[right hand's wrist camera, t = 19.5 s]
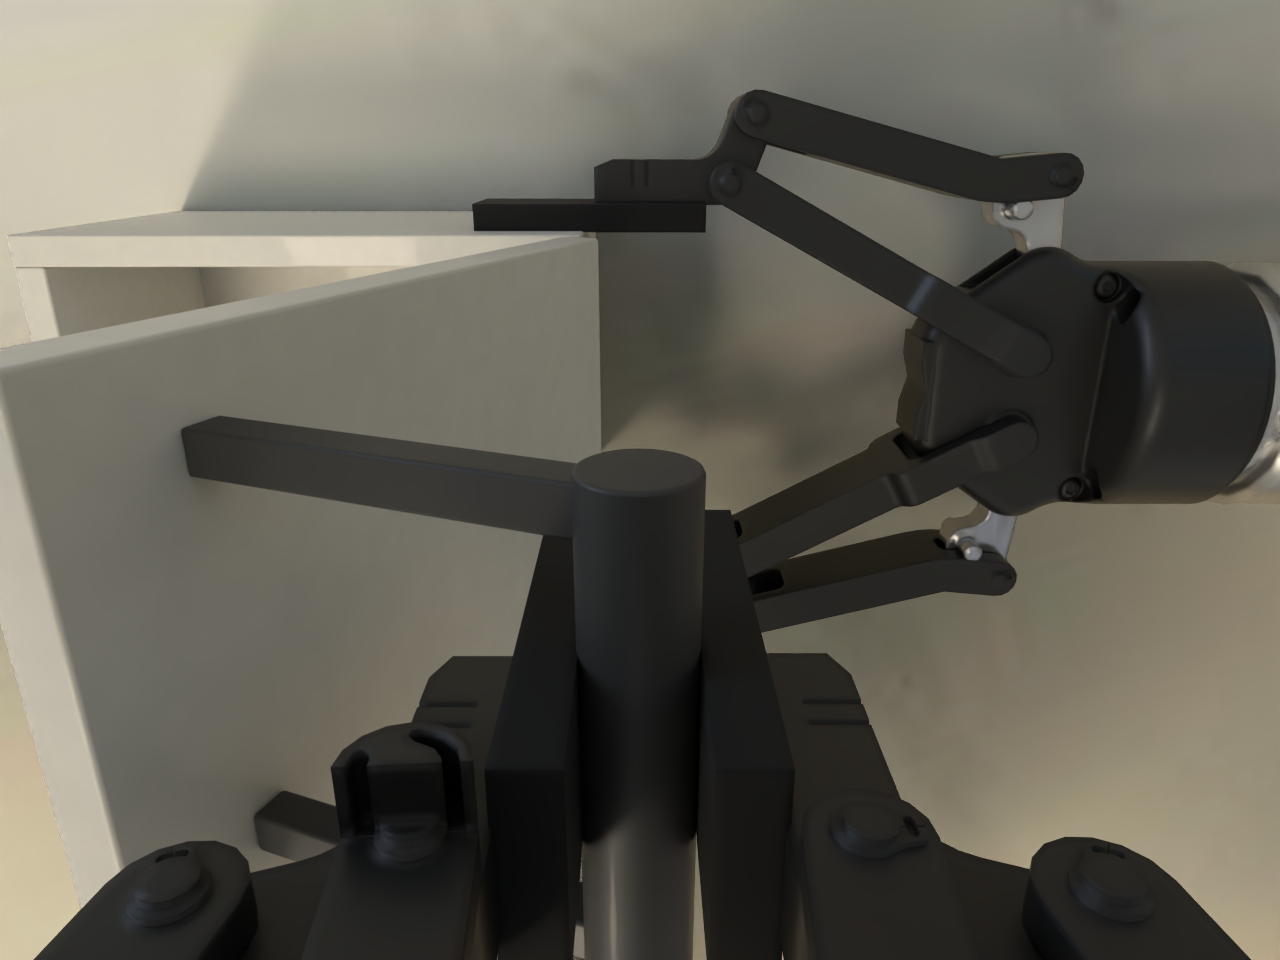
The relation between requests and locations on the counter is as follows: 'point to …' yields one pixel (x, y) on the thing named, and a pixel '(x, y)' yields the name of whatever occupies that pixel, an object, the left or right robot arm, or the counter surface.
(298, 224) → the chest
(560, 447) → the lid
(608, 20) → the counter surface
